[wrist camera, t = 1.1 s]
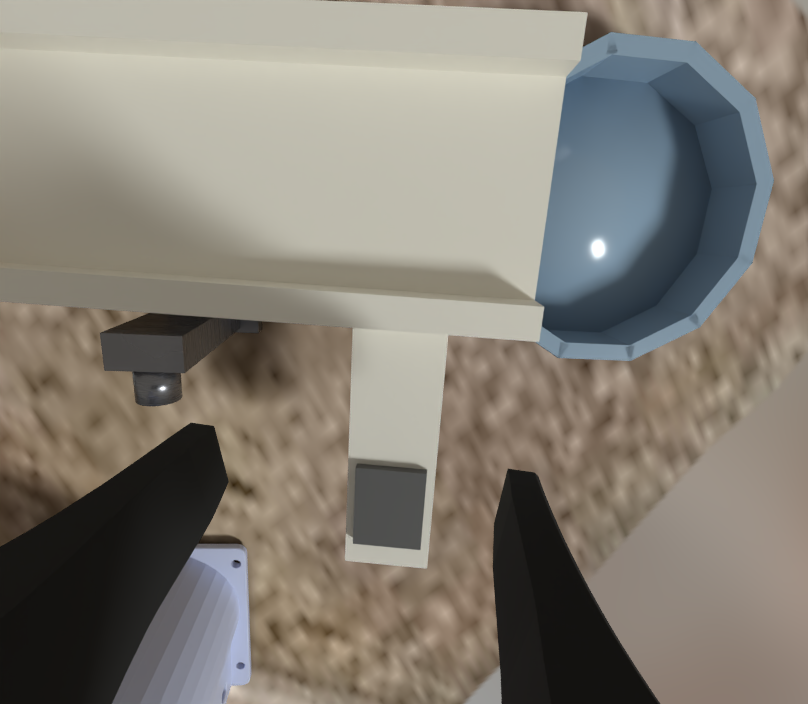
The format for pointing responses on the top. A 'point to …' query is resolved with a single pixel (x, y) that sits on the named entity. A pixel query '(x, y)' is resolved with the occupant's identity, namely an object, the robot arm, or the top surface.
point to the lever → (294, 189)
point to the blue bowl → (648, 197)
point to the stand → (165, 350)
